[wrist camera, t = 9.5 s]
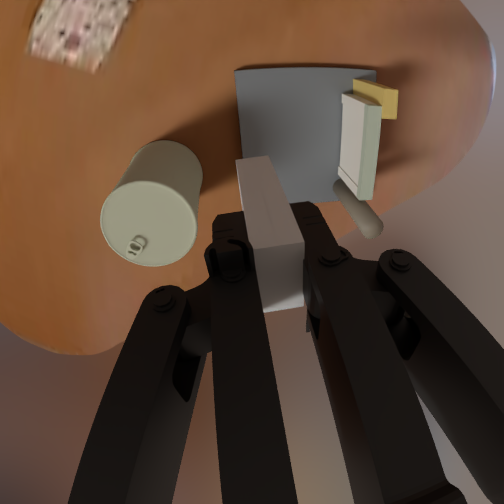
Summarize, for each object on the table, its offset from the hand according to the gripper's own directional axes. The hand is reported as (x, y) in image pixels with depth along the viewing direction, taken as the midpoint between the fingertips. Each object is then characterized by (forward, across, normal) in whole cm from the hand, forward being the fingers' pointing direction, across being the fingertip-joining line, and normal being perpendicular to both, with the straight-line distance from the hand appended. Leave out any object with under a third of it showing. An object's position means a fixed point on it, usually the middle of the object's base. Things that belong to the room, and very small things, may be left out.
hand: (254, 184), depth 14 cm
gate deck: (+21, +8, -5) cm, 23 cm away
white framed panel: (+20, +13, -5) cm, 24 cm away
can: (+22, -9, -8) cm, 25 cm away
